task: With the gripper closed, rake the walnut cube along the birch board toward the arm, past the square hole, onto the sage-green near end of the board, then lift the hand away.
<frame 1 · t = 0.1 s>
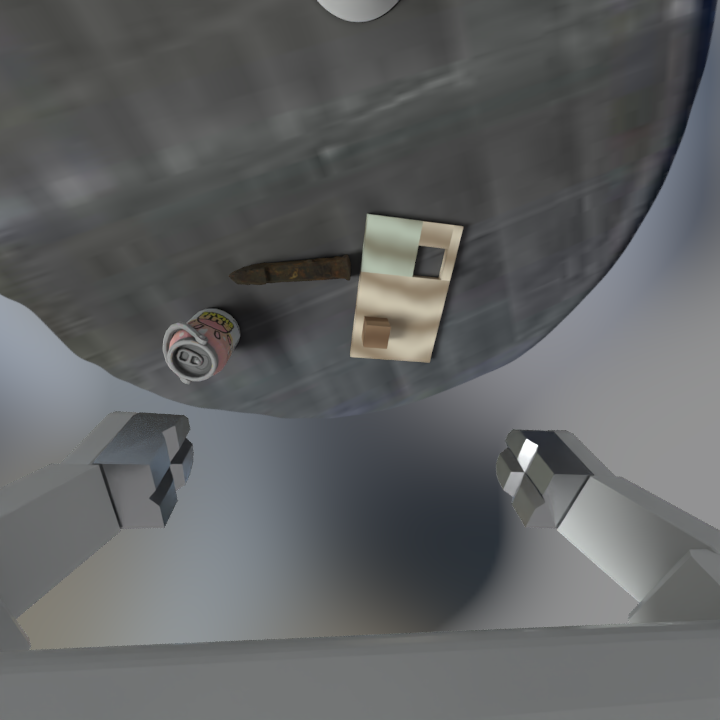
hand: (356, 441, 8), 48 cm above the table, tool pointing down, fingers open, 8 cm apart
walnut cube: (374, 328, 57), point 1 cm above the table, touching birch board
beverage can: (214, 327, 57), on the table
birch board: (400, 294, 56), on the table
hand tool: (292, 271, 54), on the table
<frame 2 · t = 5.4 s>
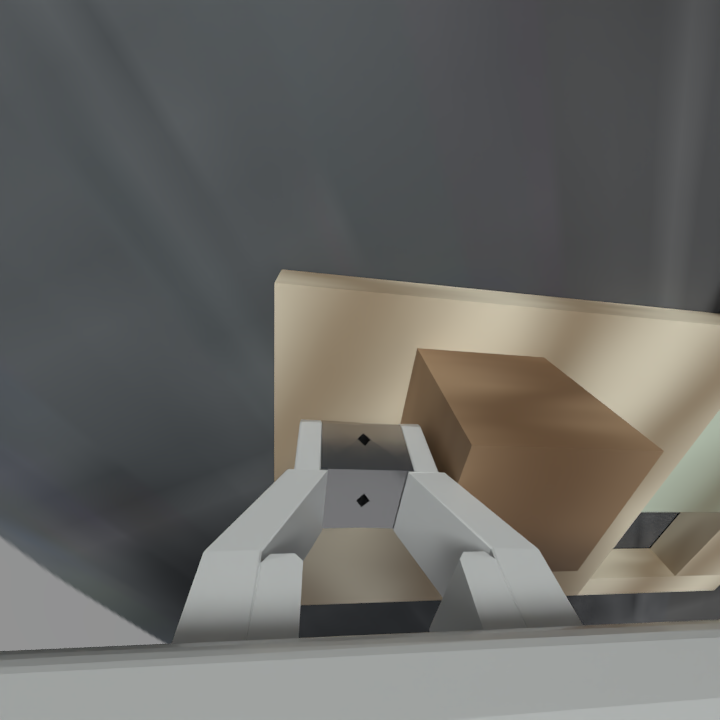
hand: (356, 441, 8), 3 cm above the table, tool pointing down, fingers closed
walnut cube: (464, 408, 11), point 2 cm above the table, touching birch board, gripper
birch board: (555, 467, 15), on the table
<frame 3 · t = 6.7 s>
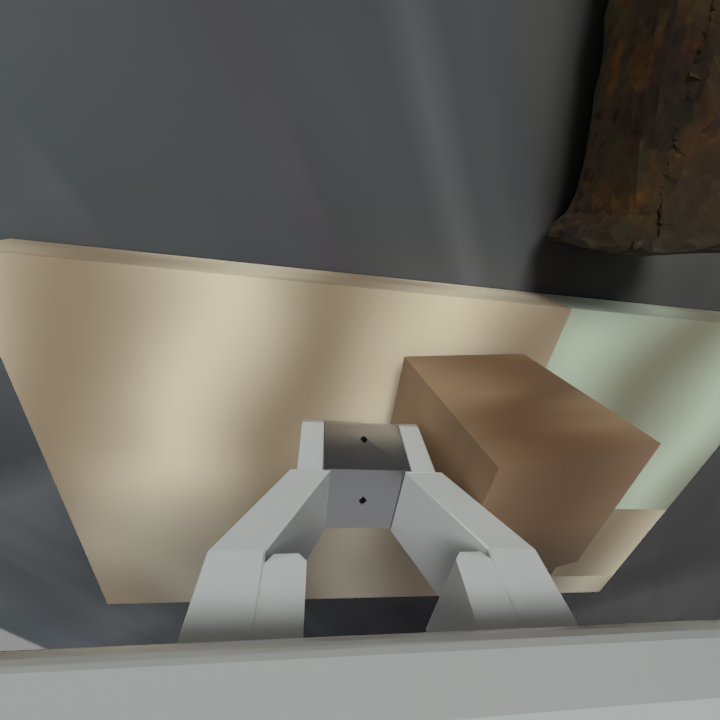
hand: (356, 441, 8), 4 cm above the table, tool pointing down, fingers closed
walnut cube: (450, 411, 10), point 2 cm above the table, tilted 12°, touching gripper
birch board: (398, 459, 14), on the table
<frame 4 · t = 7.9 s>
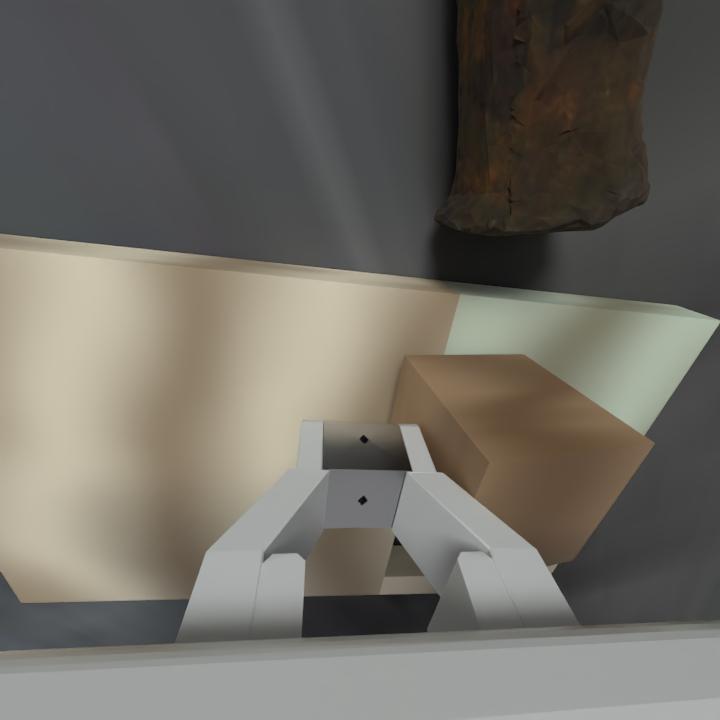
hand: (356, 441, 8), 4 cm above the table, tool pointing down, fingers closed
walnut cube: (450, 410, 10), point 2 cm above the table, tilted 10°, touching birch board, gripper
birch board: (317, 454, 13), on the table
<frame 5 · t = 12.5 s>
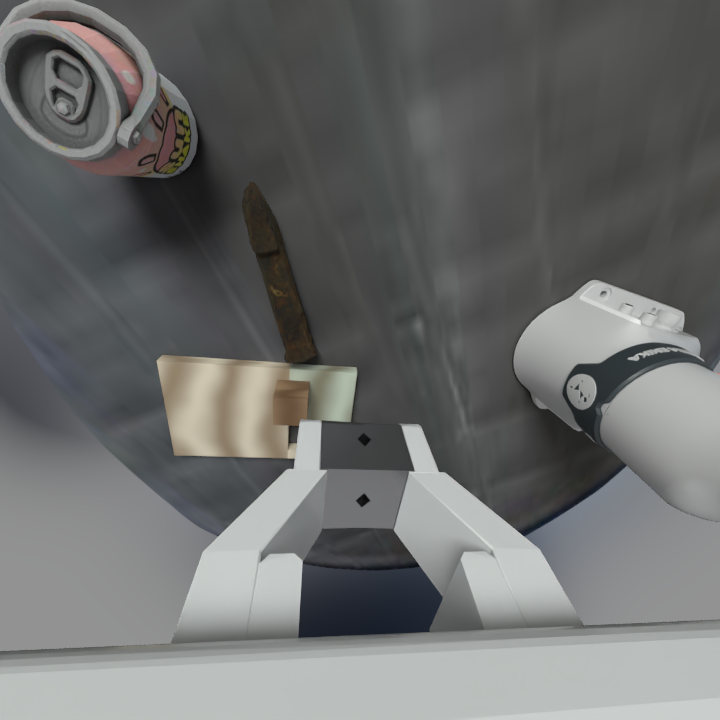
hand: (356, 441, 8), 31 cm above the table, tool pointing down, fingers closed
walnut cube: (293, 393, 42), point 1 cm above the table, touching birch board
beverage can: (156, 121, 30), on the table
birch board: (263, 409, 45), on the table
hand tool: (277, 277, 37), on the table
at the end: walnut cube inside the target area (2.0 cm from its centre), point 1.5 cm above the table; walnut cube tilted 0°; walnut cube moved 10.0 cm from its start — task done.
